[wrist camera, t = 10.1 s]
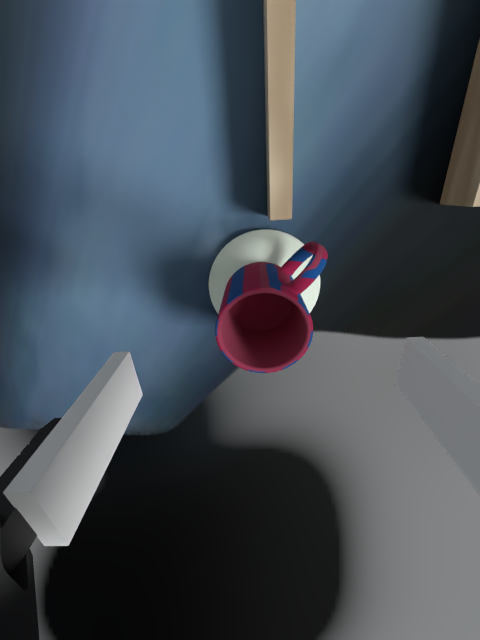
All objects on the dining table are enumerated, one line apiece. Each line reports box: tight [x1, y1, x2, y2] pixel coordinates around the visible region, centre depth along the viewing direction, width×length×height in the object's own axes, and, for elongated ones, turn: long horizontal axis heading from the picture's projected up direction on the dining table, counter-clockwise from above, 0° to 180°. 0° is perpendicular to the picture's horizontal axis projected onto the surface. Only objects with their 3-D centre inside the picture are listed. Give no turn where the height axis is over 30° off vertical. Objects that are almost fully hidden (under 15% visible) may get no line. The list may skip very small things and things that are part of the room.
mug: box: [215, 242, 327, 373], centre depth 21 cm, size 7×10×7 cm
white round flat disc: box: [209, 229, 320, 314], centre depth 24 cm, size 10×10×1 cm
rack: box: [263, 0, 480, 220], centre depth 16 cm, size 15×15×4 cm
